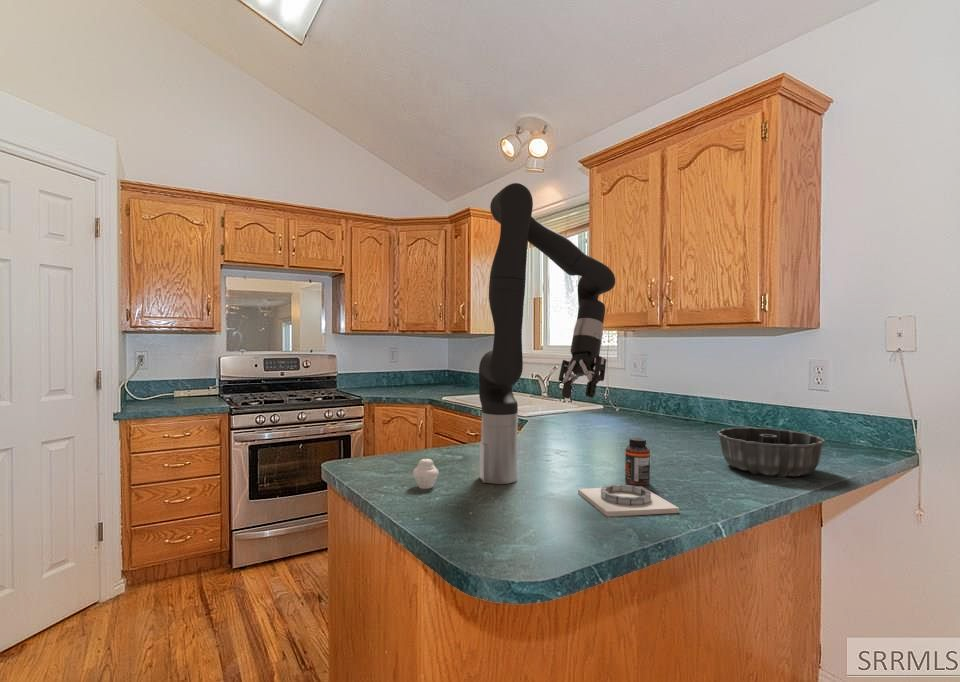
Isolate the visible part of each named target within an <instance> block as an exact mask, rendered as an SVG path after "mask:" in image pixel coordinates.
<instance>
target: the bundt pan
mask: <svg viewBox="0 0 960 682" xmlns="http://www.w3.org/2000/svg"><path fill="white" fill-rule="evenodd" d="M716 434H717V435H718V437H719V442H720V447H721V453H722V455H723V458H724V460H725V462H726V463H727V464H728V465H729V466H731V467H732V468H734V469H737V470H738V469H739V470H740V471H742V472H743V471H744V472H750V473H751V474H752V475H758V474H762V475H764V476H767V477H768V476H770V477H771V476H772V477H773V476H775V475H777V476H778V477H780V478H785V477H787V476H789V477H800V475H801V477H802V476H808V475H811V474H812V473H813V472H814V471H815V470H816V469H817V467H818V466H819V463H820V461H821V460H820V459H821V454H822V448H823V444H826V440H825V439H824V438H821V436H818V435H813V434H810V433H806V432H801V431H792V430H787V429H779V428H766V427H759V428H758V427H731V428H722V429H721V430H718V431H717V432H716Z"/></svg>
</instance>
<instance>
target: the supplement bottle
mask: <svg viewBox="0 0 960 682" xmlns="http://www.w3.org/2000/svg"><path fill="white" fill-rule="evenodd" d="M628 442H629V443H628V445H627V446H626V447H625V450H624V452H625V454H624V455H625V457H624V458H625V460H624V461H625V462H624V463H625V464H624V465H625V466H624V467H625V469H624V470H625V472H624V473H625V474H624V480H625V483H626V484H627V485H633V486H637V487H638V486H642V487H644V486H645V487H646V486H648V485H649V484H650V482H651V481H650V480H651V479H650V478H651V477H650V476H651V475H650V474H651V467H650V466H651V451H650V448H649V447H647V438H644V437H640V436H639V437H637V436H636V437H630V438H629V441H628Z"/></svg>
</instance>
